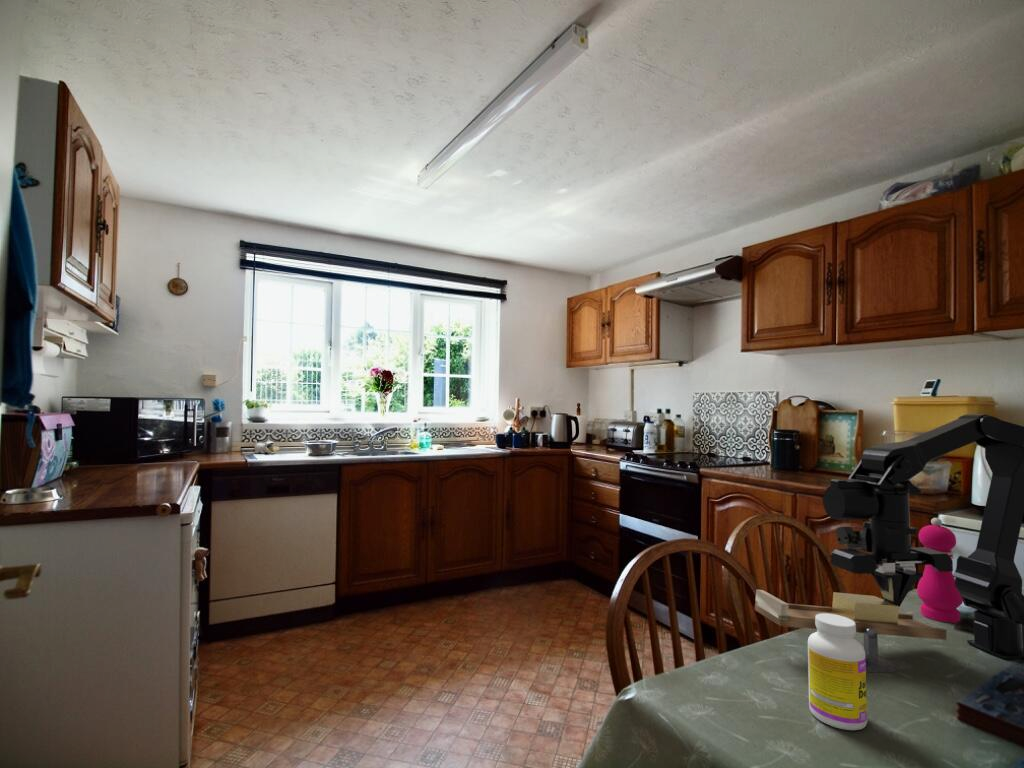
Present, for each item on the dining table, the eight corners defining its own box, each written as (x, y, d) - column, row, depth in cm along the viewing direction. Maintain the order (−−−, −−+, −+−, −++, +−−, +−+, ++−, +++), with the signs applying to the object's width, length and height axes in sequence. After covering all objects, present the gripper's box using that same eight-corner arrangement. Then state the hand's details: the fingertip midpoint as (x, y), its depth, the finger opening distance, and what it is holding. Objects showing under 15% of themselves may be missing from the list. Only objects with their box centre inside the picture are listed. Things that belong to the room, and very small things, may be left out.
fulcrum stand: (839, 639, 94) (838, 604, 95) (895, 671, 82) (894, 631, 83) (809, 640, 94) (808, 605, 94) (861, 672, 82) (860, 632, 82)
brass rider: (873, 616, 92) (874, 595, 92) (897, 627, 87) (898, 606, 87) (831, 612, 91) (833, 592, 91) (853, 623, 86) (855, 602, 86)
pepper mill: (946, 611, 109) (942, 515, 110) (973, 624, 102) (968, 521, 103) (909, 609, 110) (906, 514, 111) (933, 623, 102) (929, 520, 104)
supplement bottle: (869, 739, 65) (865, 633, 65) (808, 722, 68) (805, 622, 69) (866, 713, 70) (863, 616, 71) (810, 699, 74) (807, 607, 75)
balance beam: (909, 623, 93) (910, 603, 94) (946, 639, 86) (947, 618, 87) (754, 609, 90) (756, 589, 90) (780, 626, 83) (781, 603, 83)
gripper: (897, 510, 99) (900, 593, 98) (808, 511, 97) (810, 596, 96) (953, 522, 88) (957, 615, 87) (854, 523, 86) (857, 619, 85)
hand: (892, 610), depth 89 cm, fingers closed
